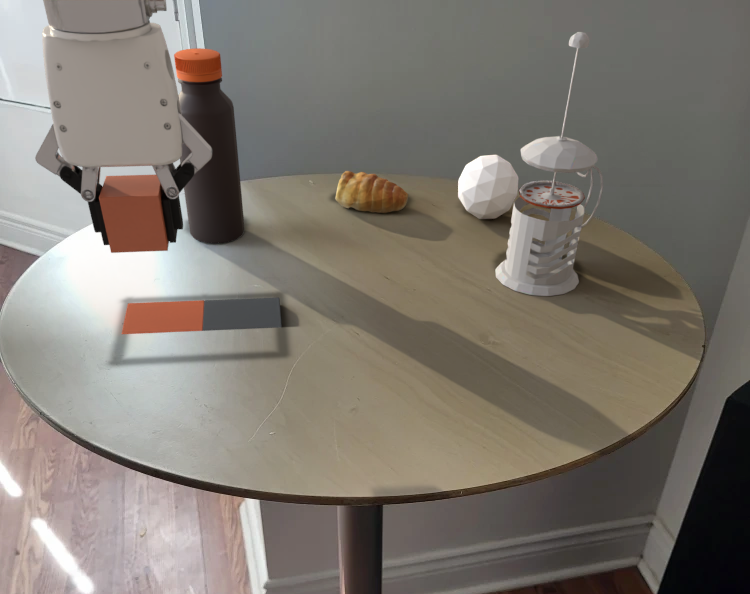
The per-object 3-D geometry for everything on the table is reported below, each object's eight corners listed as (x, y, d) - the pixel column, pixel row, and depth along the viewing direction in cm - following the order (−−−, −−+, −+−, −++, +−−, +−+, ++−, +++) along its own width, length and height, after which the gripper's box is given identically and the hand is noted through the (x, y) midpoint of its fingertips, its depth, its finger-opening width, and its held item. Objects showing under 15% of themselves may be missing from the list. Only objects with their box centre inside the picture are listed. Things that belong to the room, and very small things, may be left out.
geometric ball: (468, 231, 106) (453, 171, 105) (526, 213, 104) (512, 152, 103) (462, 224, 99) (447, 160, 98) (525, 204, 97) (509, 138, 95)
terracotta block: (111, 253, 70) (98, 197, 66) (117, 229, 73) (105, 175, 70) (167, 250, 70) (158, 195, 67) (171, 227, 74) (162, 174, 70)
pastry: (412, 200, 106) (414, 172, 104) (399, 220, 102) (400, 190, 99) (347, 191, 108) (347, 163, 106) (331, 209, 104) (331, 181, 101)
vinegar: (178, 235, 96) (151, 54, 83) (215, 217, 101) (195, 42, 87) (219, 250, 94) (198, 65, 80) (256, 230, 98) (241, 52, 84)
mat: (116, 372, 74) (114, 365, 74) (129, 309, 83) (127, 303, 82) (284, 364, 76) (284, 357, 75) (279, 303, 85) (279, 297, 84)
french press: (478, 267, 92) (508, 25, 75) (554, 248, 97) (599, 15, 80) (529, 303, 86) (574, 49, 69) (608, 281, 90) (669, 37, 73)
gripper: (211, -2, 63) (234, 217, 75) (-8, -1, 61) (53, 224, 73) (209, 19, 57) (234, 252, 70) (-32, 20, 56) (38, 259, 68)
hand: (141, 235), depth 71 cm, fingers closed on terracotta block, 5 cm apart
